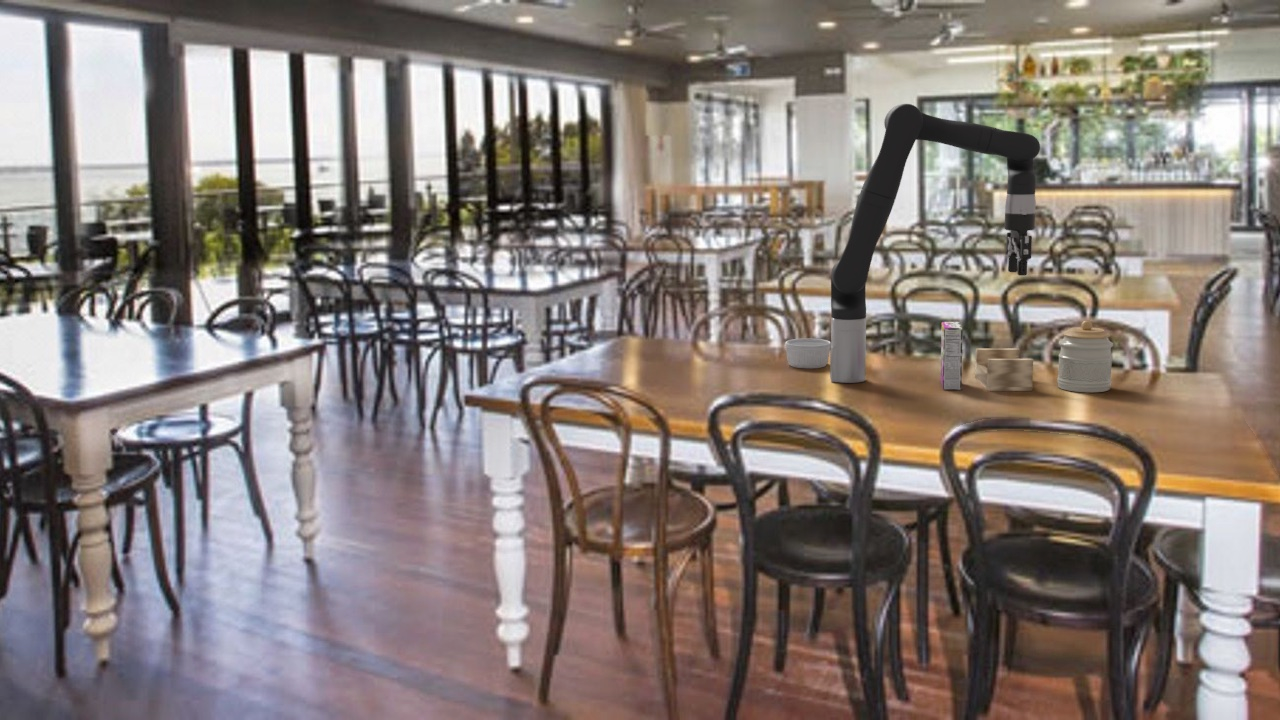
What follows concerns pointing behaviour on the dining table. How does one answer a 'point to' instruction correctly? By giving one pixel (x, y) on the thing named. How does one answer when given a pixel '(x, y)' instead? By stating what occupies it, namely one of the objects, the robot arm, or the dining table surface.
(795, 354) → the ramekin
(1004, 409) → the dining table surface
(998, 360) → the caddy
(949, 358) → the candy bar box
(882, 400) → the dining table surface
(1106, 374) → the jar
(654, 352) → the dining table surface
